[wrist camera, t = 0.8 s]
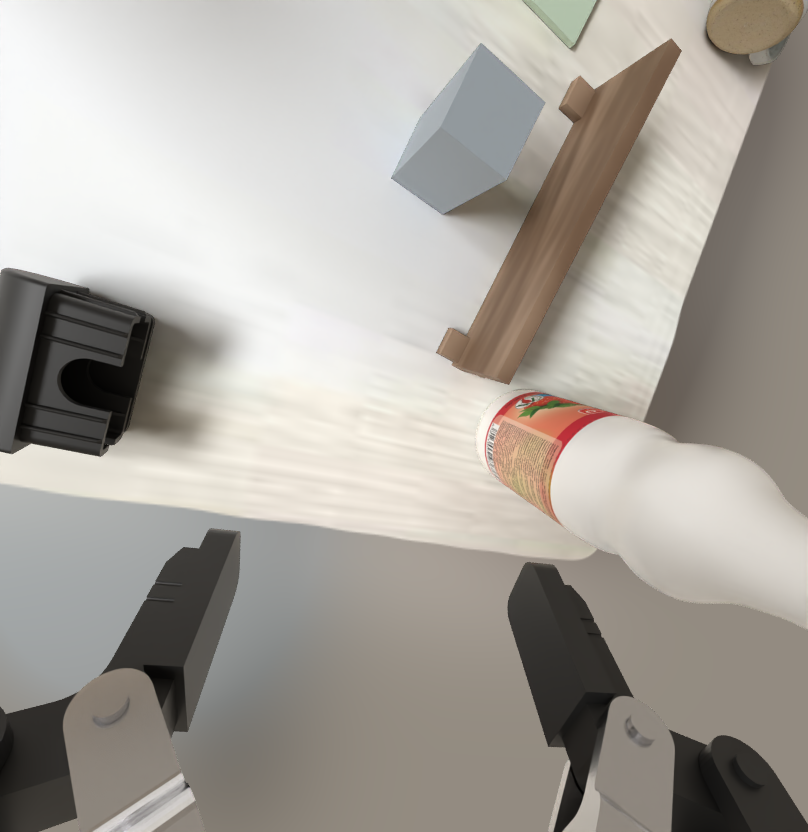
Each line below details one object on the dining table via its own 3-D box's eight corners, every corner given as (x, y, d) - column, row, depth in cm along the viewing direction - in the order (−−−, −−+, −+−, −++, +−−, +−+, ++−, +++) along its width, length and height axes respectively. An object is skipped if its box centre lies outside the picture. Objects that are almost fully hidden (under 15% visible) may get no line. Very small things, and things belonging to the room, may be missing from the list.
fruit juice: (453, 447, 41) (790, 688, 15) (512, 368, 40) (952, 468, 15) (517, 494, 44) (878, 754, 18) (570, 421, 44) (1008, 577, 18)
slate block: (391, 178, 33) (440, 126, 24) (419, 118, 33) (481, 42, 24) (444, 215, 35) (508, 181, 26) (471, 159, 35) (547, 104, 26)
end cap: (39, 272, 28) (-25, 261, 22) (158, 309, 31) (131, 309, 24) (9, 414, 29) (-60, 443, 23) (125, 439, 32) (92, 470, 26)
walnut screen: (434, 355, 38) (476, 366, 30) (573, 78, 36) (654, 17, 28) (478, 379, 40) (527, 395, 32) (612, 117, 38) (697, 69, 30)
